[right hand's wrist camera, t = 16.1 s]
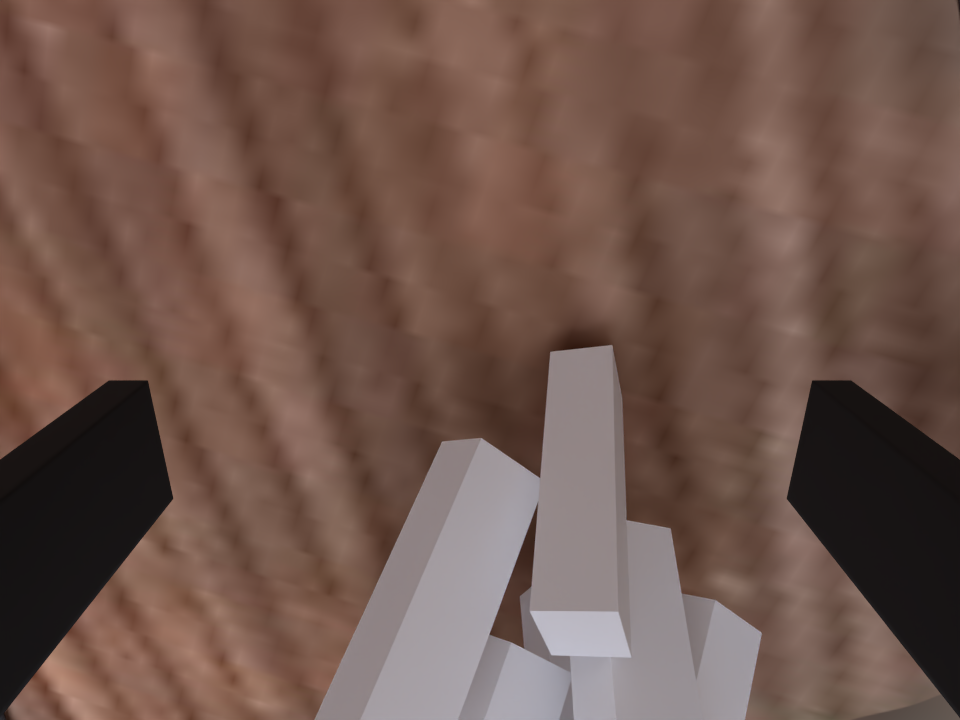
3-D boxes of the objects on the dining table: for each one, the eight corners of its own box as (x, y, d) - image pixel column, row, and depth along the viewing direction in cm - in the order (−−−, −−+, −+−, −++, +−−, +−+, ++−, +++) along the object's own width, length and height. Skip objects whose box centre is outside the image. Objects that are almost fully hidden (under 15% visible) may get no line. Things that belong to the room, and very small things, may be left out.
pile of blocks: (327, 333, 48) (-79, 901, 25) (743, 302, 36) (730, 1428, 12) (473, 573, 69) (328, 1008, 45) (770, 608, 56) (784, 1242, 32)
